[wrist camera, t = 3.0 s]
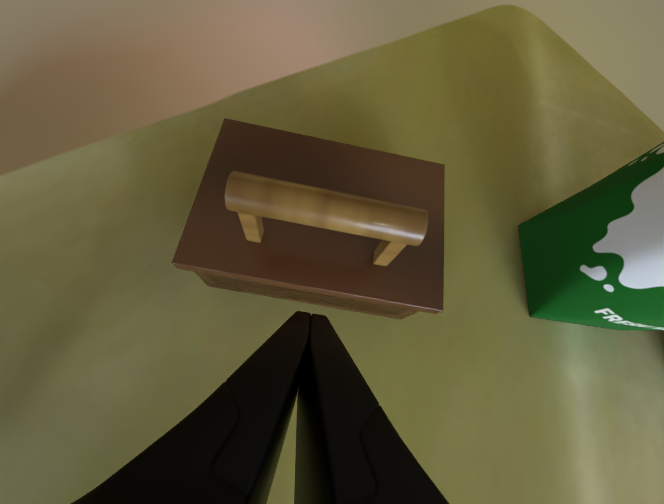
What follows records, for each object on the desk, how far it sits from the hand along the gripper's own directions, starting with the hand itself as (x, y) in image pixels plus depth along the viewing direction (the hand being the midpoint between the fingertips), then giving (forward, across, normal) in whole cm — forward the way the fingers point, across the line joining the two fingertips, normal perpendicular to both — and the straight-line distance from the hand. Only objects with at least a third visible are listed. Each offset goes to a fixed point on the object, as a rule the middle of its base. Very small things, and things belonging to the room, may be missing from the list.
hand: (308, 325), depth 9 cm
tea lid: (+8, 0, -1) cm, 8 cm away
